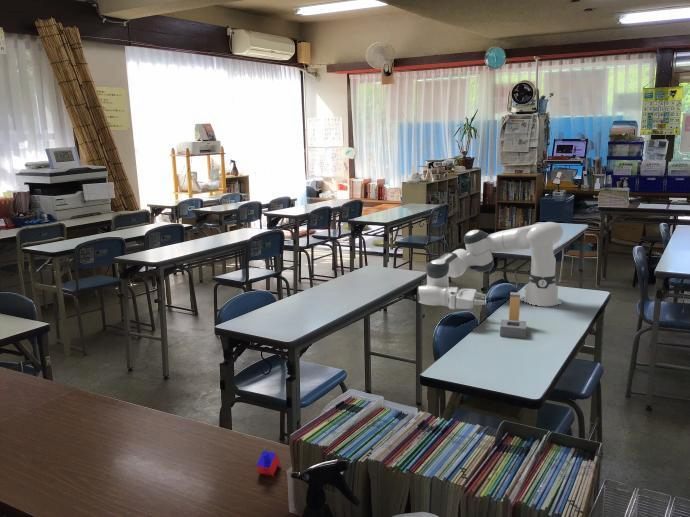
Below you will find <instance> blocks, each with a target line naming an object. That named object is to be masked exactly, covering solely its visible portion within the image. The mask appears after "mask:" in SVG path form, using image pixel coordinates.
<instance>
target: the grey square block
mask: <svg viewBox="0 0 690 517" xmlns="http://www.w3.org/2000/svg"><path fill="white" fill-rule="evenodd" d="M499 327H500V328H499V336H500V337H508V338H518V337H519V339H526V334H527V321H526V320H519V321H516V320H509V319H504V318H502V319H501V320H500V326H499Z"/></svg>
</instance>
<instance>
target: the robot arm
mask: <svg viewBox="0 0 690 517" xmlns="http://www.w3.org/2000/svg"><path fill="white" fill-rule="evenodd" d="M563 234H564V232H563V227H562V225H561V224H559V223H557V222H554V221H546V222H541V223H537V224H531V225H530V224H529V225H525V226H520V227H516V228H510V229H505V230H500V231H497V232H493V233H491V234H489V233H488V232H485V231H483V230H480V229H473V230H469V231H467V232H466V233H465V234H464V236H463V243H464V244H465V249H464V248H459V249H458V248H457V249H455V250H454V251H452V252H445V253H444V254H441V255H440V256H439V257H437V258H435V259H431V260H430V261H429V262H428V263H427V264H426V267H425V268H426V285H419V286H418V287H417V289H416V290H417V292H416V293H417V294H416V296H417V302H418V303H419V304H421V305H422V304H423V305H427V306H434V307H435V306H443V307H447V308H449V310H456V309H461V310H470V309H473V308H474V306H480V305H481V306H483V305H485V304H486V299H487V294H486V293H482V292H477V289H475V288H460V289H459V287H457V286H449V280H450V279H449V277H450V278H459V277H461V276H462V275H463V274H464V273H465V272H466V270H467V268H469V270H472V271H475V272H476V273H478V274H479V273H480V274H481V273H486V272H489V271H491V270H492V269H493V268H494V265H495V263H494V260H495V259H494V258H493V255H492V253H496V254H499V253H500V254H502V253H503V254H504V253H505V254H506V253H510V252H519V251H526V250H529V249H530V250H529V251H530V254H531V256H530V258H531V259H530V260H531V264H530V266H531V267H530V273H529V278H528V279H529V281H528V283H527V284H526V285H525V286H524V291H525V292H524V295H523V296H522V297H520V302H522V301H524V302H523V303H526V302H527V303H526V304H528V303H529V305H531V304H532V306H535V305H537V306H538V307H554V306H558V304H559V305H562V301H561V300H560V299H559V286H557V284H556V281H557V277H556V276H557V275H556V264H557V263H556V262H557V260H556V256H555V254H554V244H558V242H559V241H560V240H561V239H562V237H563ZM478 298H479V299H478Z"/></svg>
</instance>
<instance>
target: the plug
mask: <svg viewBox="0 0 690 517" xmlns="http://www.w3.org/2000/svg"><path fill="white" fill-rule="evenodd" d="M509 295H510V296H509V299H510V300H509V310H508V311H509V313H508V314H509V316H508V320H516V321H520V307H521V306H520V305H521V292H512V291H510V294H509Z"/></svg>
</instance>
